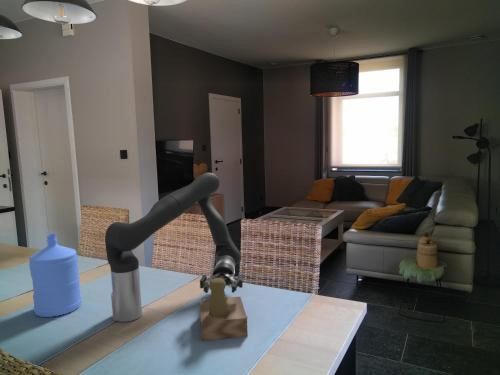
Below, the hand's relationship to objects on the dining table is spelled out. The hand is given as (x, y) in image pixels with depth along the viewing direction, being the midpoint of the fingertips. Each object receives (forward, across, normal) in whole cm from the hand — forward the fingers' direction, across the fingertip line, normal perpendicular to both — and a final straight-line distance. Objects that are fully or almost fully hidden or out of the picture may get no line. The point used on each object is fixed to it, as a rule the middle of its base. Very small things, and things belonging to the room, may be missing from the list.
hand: (219, 289), depth 118 cm
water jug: (-16, -62, +13) cm, 66 cm away
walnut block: (-1, 0, +13) cm, 13 cm away
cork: (+2, 0, +7) cm, 7 cm away
